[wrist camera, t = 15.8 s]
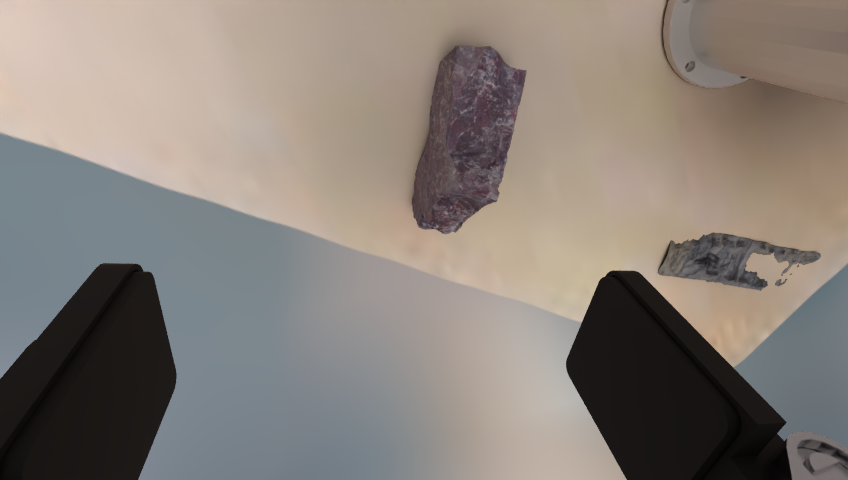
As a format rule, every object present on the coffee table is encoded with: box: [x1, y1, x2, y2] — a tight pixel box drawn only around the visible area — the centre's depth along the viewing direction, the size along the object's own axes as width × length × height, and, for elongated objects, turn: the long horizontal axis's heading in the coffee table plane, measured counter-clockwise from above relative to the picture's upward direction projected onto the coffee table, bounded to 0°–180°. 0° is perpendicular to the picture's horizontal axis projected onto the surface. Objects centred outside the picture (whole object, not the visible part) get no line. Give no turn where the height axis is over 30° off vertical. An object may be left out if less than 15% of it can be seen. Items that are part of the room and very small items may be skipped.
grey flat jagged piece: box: [659, 233, 821, 291], centre depth 50 cm, size 21×7×2 cm, turn 73°
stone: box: [412, 46, 526, 234], centre depth 33 cm, size 10×6×15 cm
